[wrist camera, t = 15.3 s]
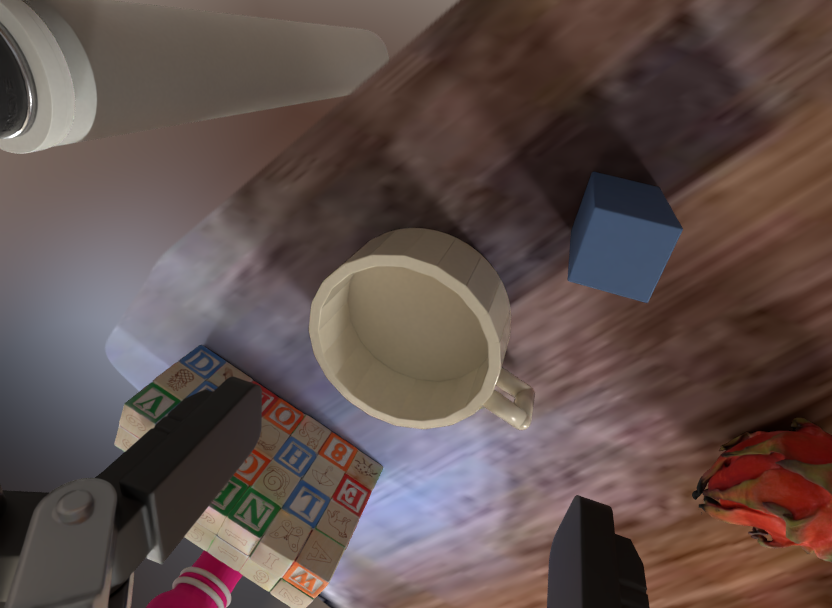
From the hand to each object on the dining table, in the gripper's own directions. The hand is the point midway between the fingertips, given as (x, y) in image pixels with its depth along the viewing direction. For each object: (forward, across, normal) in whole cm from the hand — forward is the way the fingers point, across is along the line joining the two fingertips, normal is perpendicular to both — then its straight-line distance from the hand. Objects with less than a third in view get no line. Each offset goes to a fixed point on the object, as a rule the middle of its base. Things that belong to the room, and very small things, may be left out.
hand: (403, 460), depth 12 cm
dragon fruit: (+23, -23, +12) cm, 34 cm away
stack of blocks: (+24, +16, +27) cm, 39 cm away
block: (+23, -6, -1) cm, 24 cm away
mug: (+23, +2, +10) cm, 26 cm away
